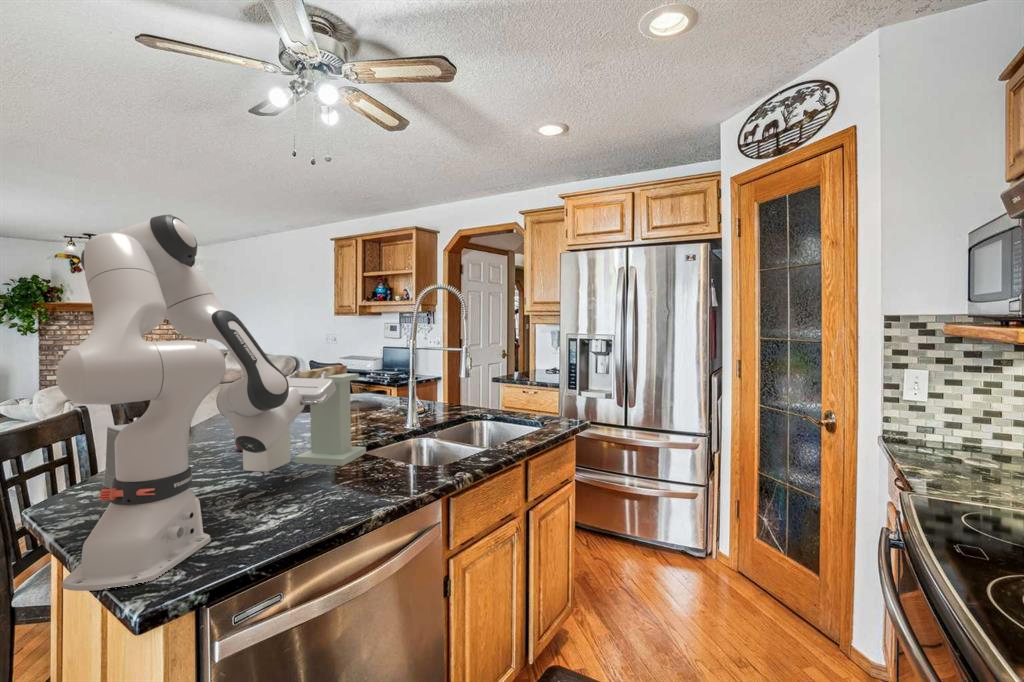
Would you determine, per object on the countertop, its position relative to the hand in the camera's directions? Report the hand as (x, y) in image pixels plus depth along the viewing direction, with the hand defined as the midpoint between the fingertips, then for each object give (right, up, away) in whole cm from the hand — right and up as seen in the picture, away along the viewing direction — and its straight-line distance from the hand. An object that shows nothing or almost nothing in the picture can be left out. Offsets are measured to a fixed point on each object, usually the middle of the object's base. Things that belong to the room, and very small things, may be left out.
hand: (312, 372), depth 140 cm
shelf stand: (+2, -27, +10) cm, 29 cm away
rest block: (-14, -28, +2) cm, 31 cm away
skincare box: (-41, -29, -15) cm, 52 cm away
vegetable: (-29, -27, +21) cm, 45 cm away
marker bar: (+1, -1, +5) cm, 5 cm away
